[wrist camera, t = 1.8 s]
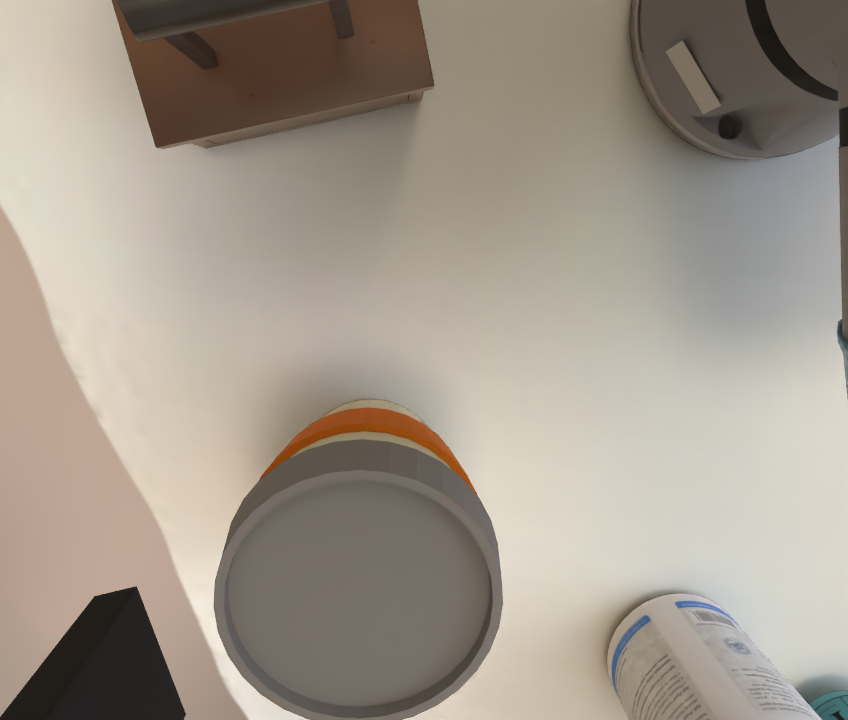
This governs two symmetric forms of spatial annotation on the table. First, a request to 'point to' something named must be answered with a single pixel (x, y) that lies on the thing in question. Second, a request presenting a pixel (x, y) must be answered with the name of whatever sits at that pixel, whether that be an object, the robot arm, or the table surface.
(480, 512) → the reusable coffee cup
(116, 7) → the bin lid
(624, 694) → the supplement tub
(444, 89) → the table surface
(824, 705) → the beverage bottle
